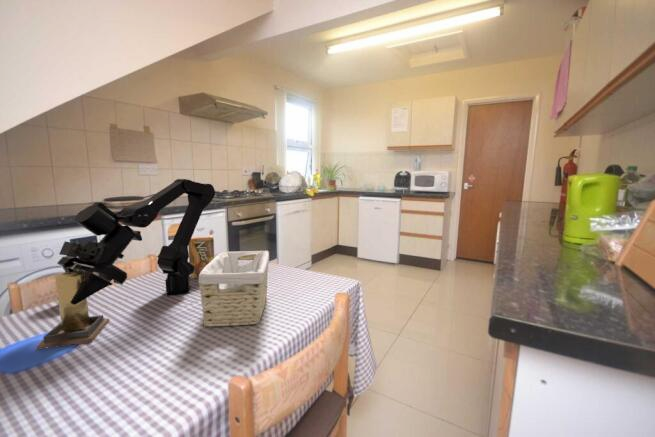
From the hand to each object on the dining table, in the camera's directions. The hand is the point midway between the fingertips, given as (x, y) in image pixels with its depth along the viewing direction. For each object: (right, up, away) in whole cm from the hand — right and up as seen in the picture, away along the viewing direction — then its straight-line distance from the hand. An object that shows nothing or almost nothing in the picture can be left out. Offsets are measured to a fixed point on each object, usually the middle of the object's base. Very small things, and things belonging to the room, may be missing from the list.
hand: (65, 301), depth 66 cm
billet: (0, -7, +2) cm, 7 cm away
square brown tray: (0, -9, +2) cm, 9 cm away
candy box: (+12, -3, +44) cm, 46 cm away
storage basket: (+35, -7, +17) cm, 40 cm away
